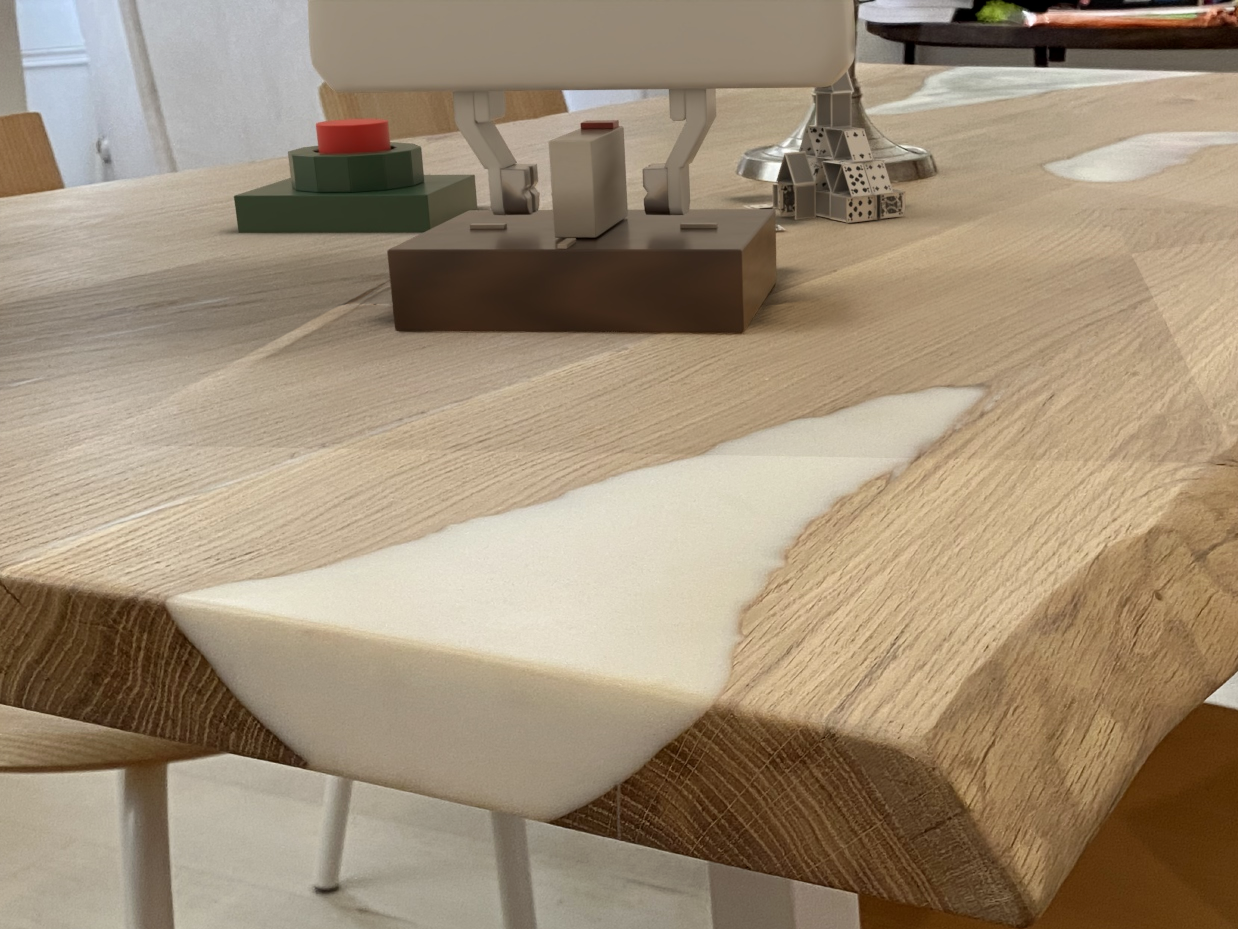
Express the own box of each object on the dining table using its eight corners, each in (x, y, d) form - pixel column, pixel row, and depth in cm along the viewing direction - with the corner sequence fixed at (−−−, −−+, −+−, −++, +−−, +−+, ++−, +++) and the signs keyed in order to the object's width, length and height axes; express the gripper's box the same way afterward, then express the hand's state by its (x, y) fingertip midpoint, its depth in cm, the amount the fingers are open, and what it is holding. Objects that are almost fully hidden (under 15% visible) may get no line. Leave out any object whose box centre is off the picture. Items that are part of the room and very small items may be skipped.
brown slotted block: (394, 331, 59) (385, 245, 58) (473, 281, 69) (467, 206, 68) (743, 333, 58) (741, 244, 57) (777, 282, 67) (775, 204, 66)
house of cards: (677, 213, 86) (671, 63, 84) (813, 198, 91) (812, 55, 88) (766, 233, 79) (763, 70, 76) (909, 216, 83) (911, 61, 81)
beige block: (596, 238, 60) (590, 133, 58) (554, 237, 60) (547, 134, 58) (628, 216, 65) (623, 119, 63) (589, 216, 65) (583, 120, 64)
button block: (239, 240, 81) (228, 158, 80) (301, 216, 88) (292, 141, 87) (431, 239, 80) (423, 156, 78) (478, 215, 87) (472, 139, 86)
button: (308, 161, 81) (304, 125, 81) (335, 153, 85) (331, 119, 84) (377, 160, 81) (373, 124, 80) (401, 152, 84) (397, 118, 84)
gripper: (254, -179, 56) (301, 225, 61) (844, -201, 53) (844, 226, 58) (325, -166, 62) (363, 202, 66) (860, -185, 59) (859, 201, 64)
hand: (591, 213), depth 62 cm, fingers open, 5 cm apart
